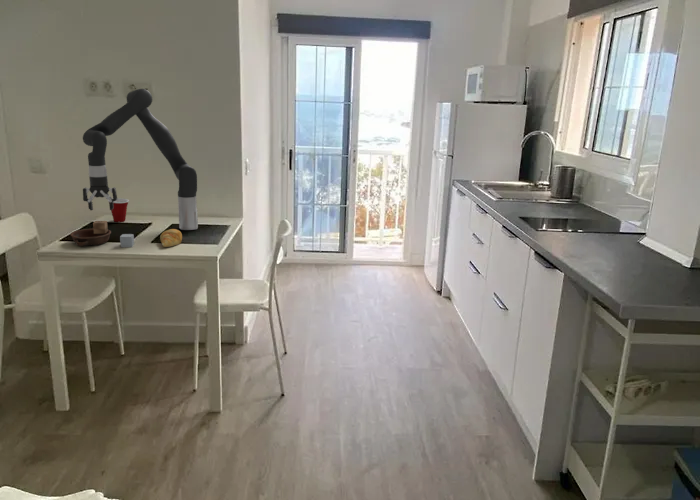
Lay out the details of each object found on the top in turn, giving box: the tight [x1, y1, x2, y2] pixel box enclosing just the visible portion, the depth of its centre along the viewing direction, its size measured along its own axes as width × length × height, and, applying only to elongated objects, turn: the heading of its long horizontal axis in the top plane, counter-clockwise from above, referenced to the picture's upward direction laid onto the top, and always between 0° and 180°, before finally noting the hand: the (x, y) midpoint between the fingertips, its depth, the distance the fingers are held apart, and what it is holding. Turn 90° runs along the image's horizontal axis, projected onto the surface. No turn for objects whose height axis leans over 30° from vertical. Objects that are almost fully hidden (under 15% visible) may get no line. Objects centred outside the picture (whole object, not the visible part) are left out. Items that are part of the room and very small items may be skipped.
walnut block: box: [92, 220, 109, 234], centre depth 261 cm, size 5×5×5 cm
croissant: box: [159, 228, 183, 248], centre depth 265 cm, size 21×10×8 cm, turn 1°
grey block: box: [119, 233, 135, 248], centre depth 258 cm, size 5×5×5 cm
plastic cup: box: [107, 197, 130, 223], centre depth 303 cm, size 11×11×12 cm
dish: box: [69, 228, 112, 247], centre depth 261 cm, size 18×22×5 cm
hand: (101, 210), depth 259 cm, fingers open, 8 cm apart
